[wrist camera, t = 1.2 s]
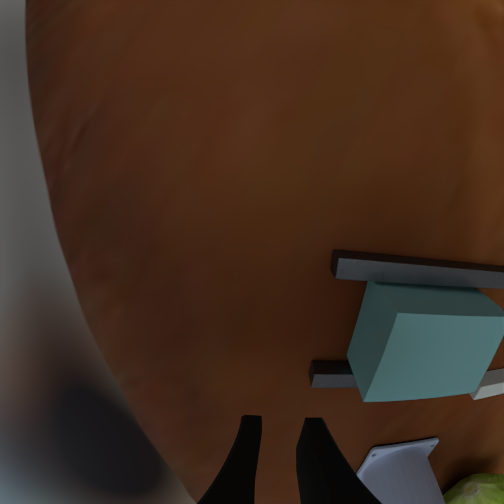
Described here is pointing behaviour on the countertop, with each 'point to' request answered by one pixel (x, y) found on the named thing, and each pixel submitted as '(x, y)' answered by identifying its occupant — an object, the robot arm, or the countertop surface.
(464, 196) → the countertop surface
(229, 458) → the robot arm
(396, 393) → the teal block
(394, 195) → the countertop surface
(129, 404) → the countertop surface
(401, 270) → the parallel guide rails
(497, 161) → the countertop surface
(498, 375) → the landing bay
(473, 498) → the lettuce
